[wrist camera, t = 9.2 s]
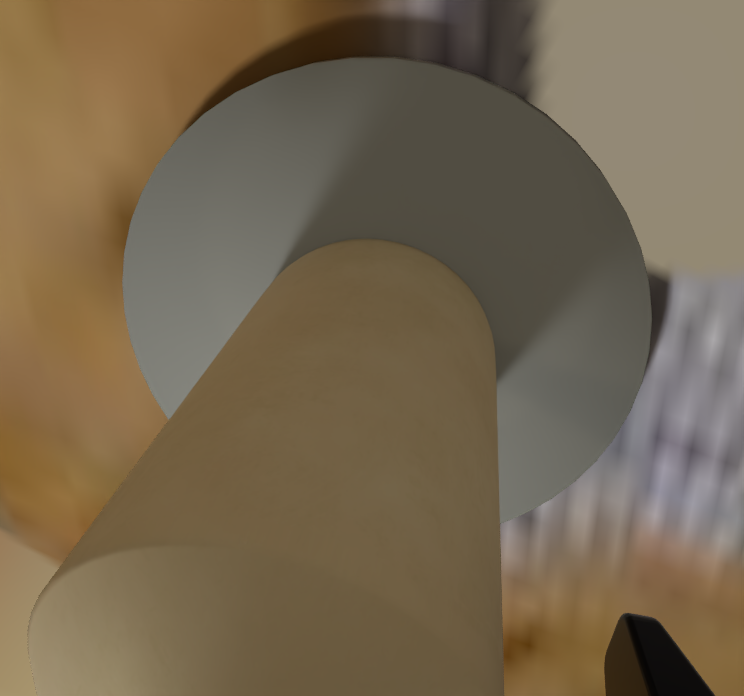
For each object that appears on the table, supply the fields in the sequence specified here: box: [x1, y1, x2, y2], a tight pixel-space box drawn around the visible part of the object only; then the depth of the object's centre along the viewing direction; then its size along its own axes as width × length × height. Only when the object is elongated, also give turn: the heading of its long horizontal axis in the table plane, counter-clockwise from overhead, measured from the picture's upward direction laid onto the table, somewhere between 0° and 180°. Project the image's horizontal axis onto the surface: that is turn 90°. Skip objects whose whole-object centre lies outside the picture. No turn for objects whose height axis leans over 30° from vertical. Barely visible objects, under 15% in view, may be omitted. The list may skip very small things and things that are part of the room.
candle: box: [28, 239, 504, 696], centre depth 10 cm, size 6×6×10 cm
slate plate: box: [122, 56, 652, 524], centre depth 15 cm, size 12×12×1 cm
